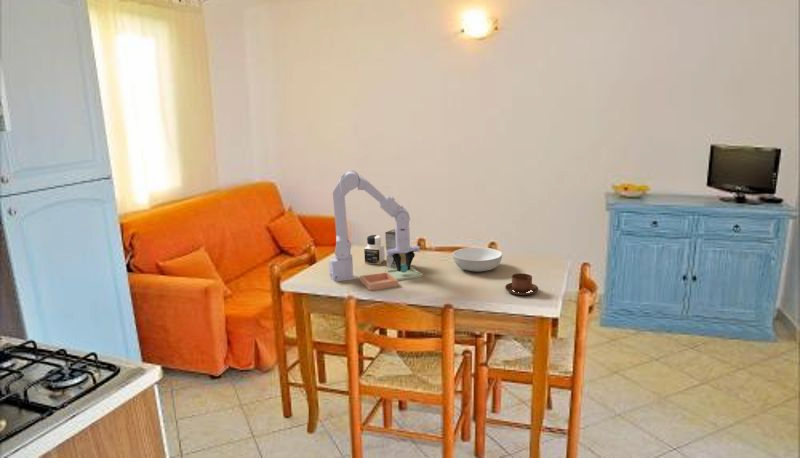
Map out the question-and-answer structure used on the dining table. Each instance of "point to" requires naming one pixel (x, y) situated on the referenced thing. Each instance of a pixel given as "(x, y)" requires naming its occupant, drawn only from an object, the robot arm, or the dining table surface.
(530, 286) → the cup and saucer
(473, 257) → the serving bowl
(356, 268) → the dining table surface
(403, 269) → the ball
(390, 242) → the coffee box
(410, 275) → the tray
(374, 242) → the medicine bottle
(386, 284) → the dish
